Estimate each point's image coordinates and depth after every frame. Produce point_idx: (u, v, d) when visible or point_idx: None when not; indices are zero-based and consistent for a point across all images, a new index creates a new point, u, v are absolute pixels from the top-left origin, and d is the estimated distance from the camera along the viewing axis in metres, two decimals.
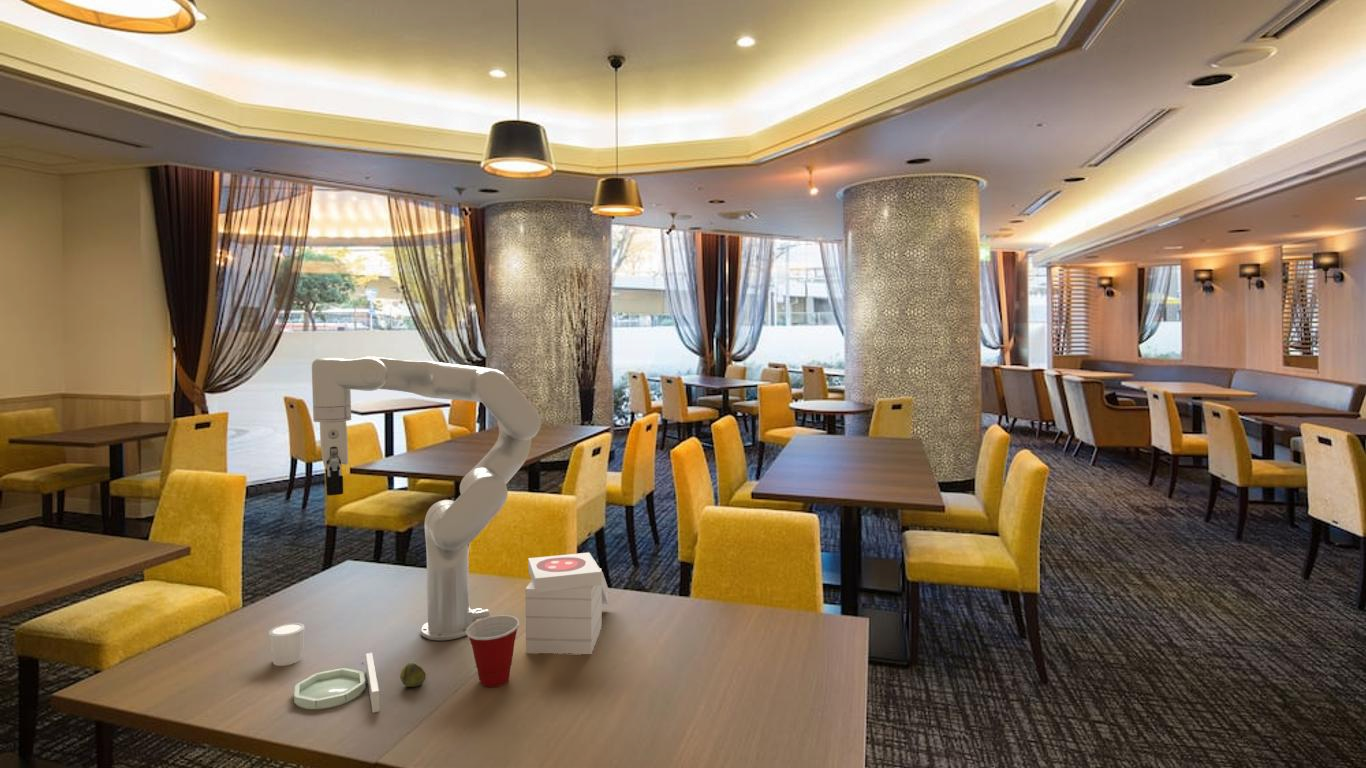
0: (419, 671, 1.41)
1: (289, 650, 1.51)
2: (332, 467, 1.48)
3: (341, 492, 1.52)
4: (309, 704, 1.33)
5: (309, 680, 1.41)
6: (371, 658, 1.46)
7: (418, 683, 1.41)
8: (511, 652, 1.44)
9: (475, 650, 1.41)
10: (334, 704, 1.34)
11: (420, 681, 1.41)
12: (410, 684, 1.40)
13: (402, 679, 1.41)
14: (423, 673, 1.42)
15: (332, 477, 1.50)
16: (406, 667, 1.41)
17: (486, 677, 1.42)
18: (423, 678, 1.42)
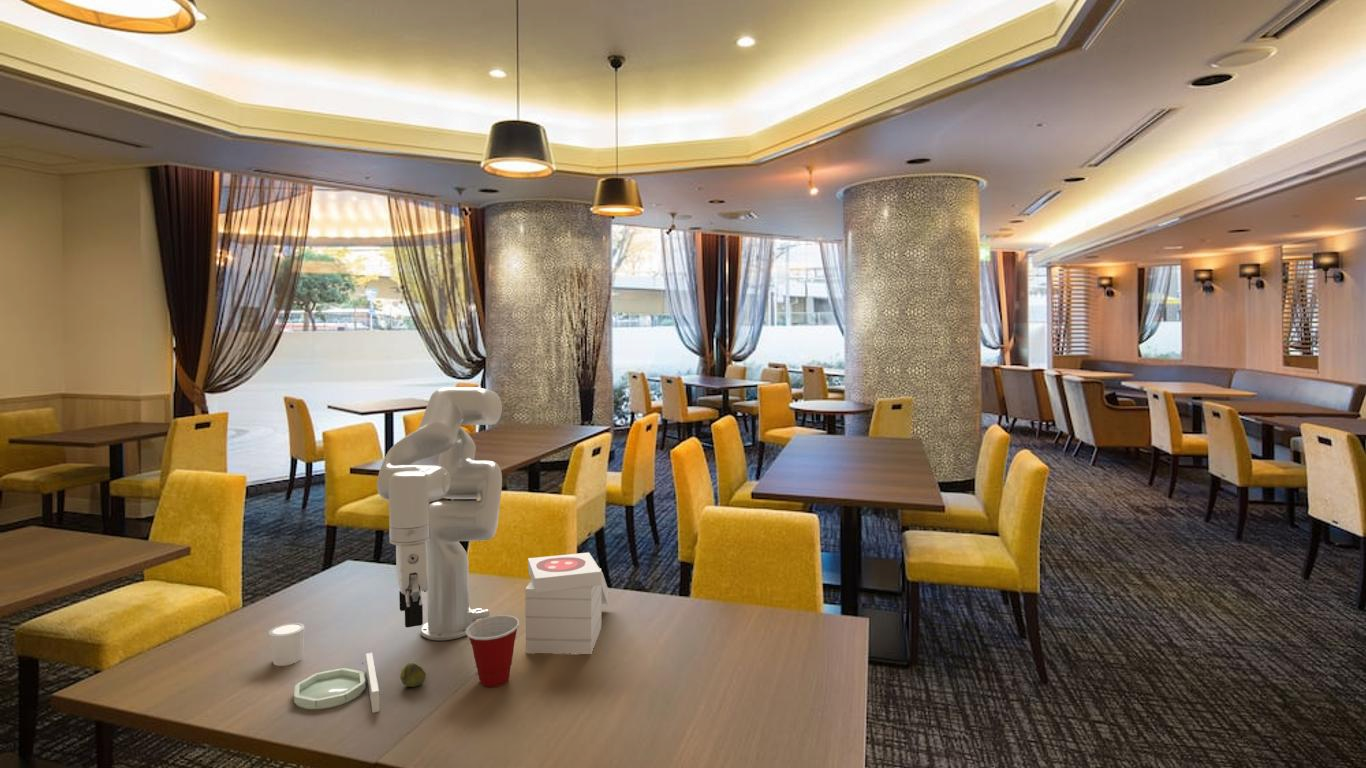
0: (419, 671, 1.41)
1: (289, 650, 1.51)
2: (413, 598, 1.33)
3: (420, 623, 1.37)
4: (309, 704, 1.33)
5: (309, 680, 1.41)
6: (371, 658, 1.46)
7: (418, 683, 1.41)
8: (511, 652, 1.44)
9: (475, 650, 1.41)
10: (334, 704, 1.34)
11: (420, 681, 1.41)
12: (410, 684, 1.40)
13: (402, 679, 1.41)
14: (423, 673, 1.42)
15: (411, 607, 1.35)
16: (406, 667, 1.41)
17: (486, 677, 1.42)
18: (423, 678, 1.42)
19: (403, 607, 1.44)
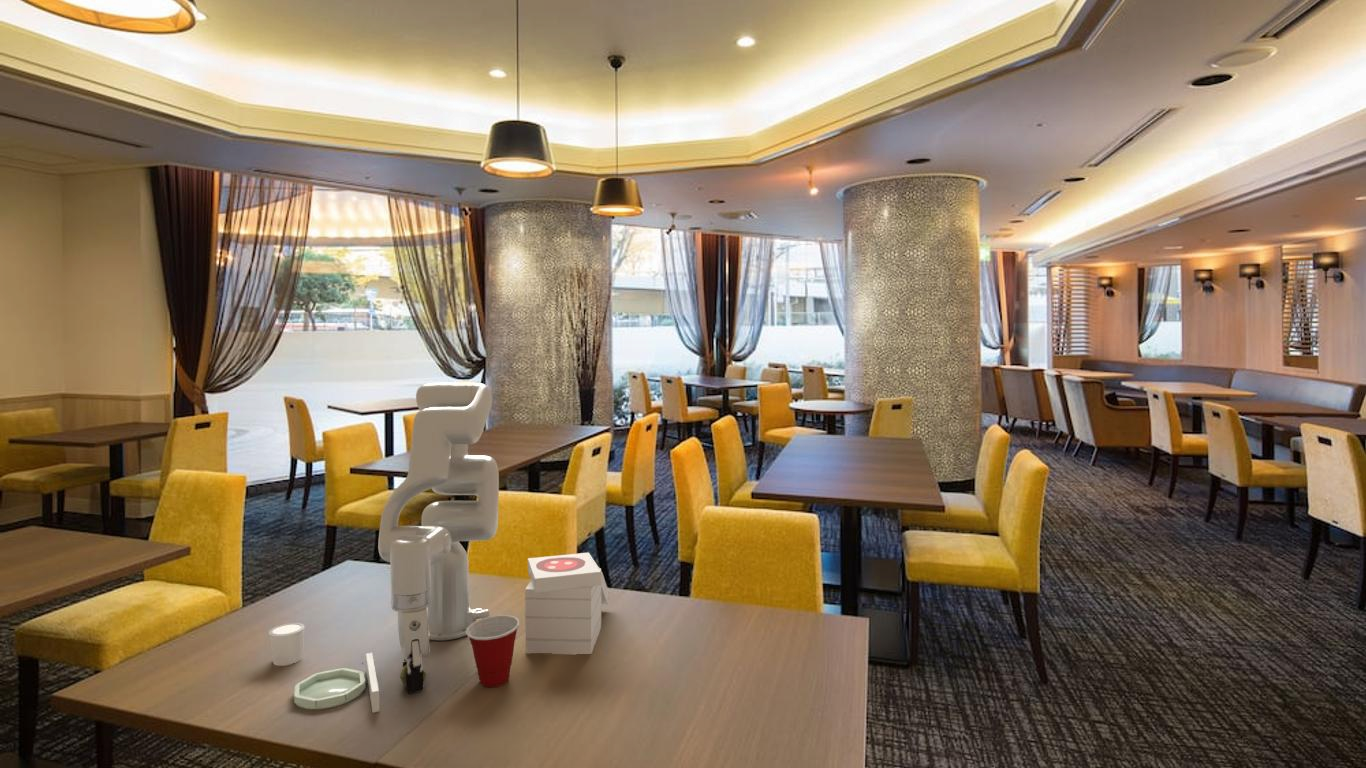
0: None
1: (289, 650, 1.51)
2: (414, 668, 1.37)
3: (421, 688, 1.40)
4: (309, 704, 1.33)
5: (309, 680, 1.41)
6: (371, 658, 1.46)
7: None
8: (511, 652, 1.44)
9: (475, 650, 1.41)
10: (334, 704, 1.34)
11: None
12: None
13: (402, 679, 1.41)
14: (423, 673, 1.42)
15: (412, 674, 1.38)
16: (406, 667, 1.41)
17: (486, 677, 1.42)
18: (423, 678, 1.42)
19: None
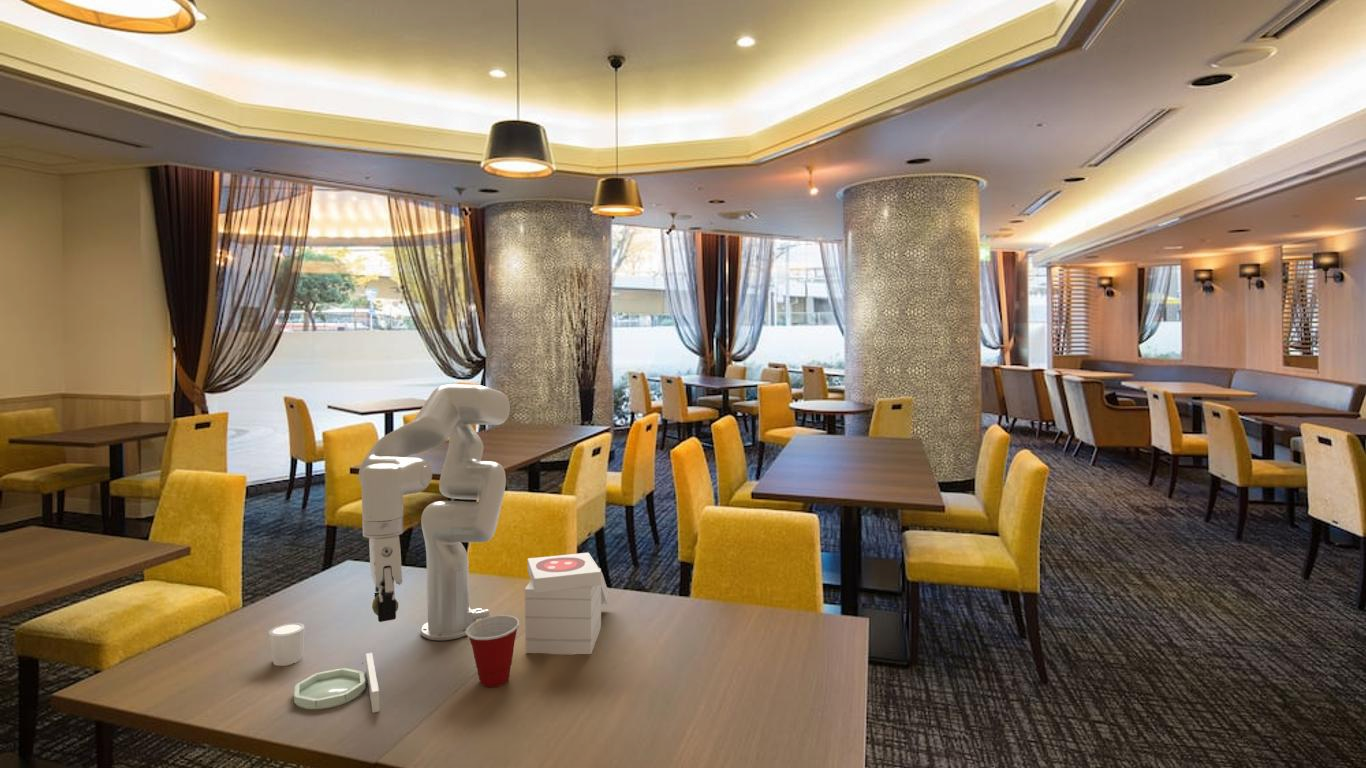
0: None
1: (289, 650, 1.51)
2: (386, 595, 1.35)
3: (394, 617, 1.38)
4: (309, 704, 1.33)
5: (309, 680, 1.41)
6: (371, 658, 1.46)
7: None
8: (511, 652, 1.44)
9: (475, 650, 1.41)
10: (334, 704, 1.34)
11: None
12: None
13: (374, 608, 1.39)
14: (396, 603, 1.40)
15: (385, 602, 1.37)
16: (378, 596, 1.39)
17: (486, 677, 1.42)
18: None
19: None
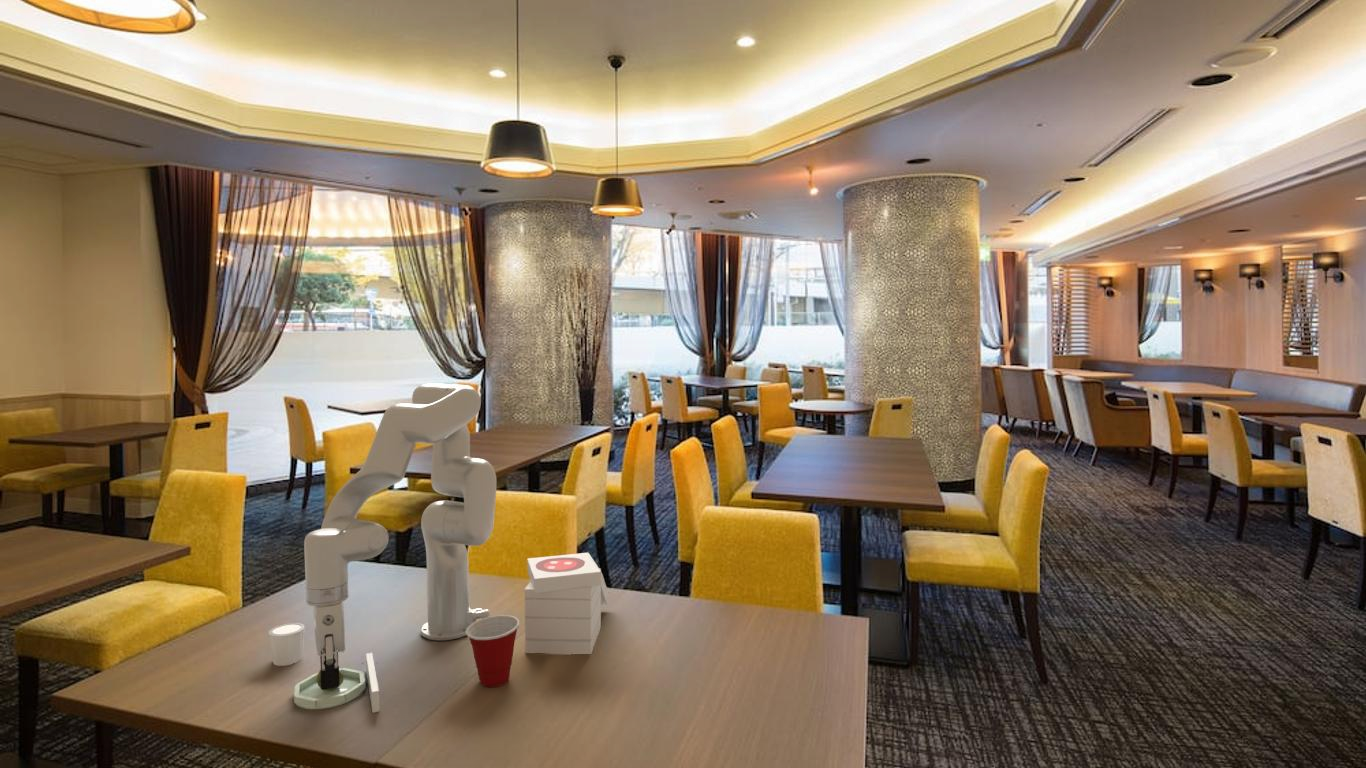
0: None
1: (289, 650, 1.51)
2: (327, 663, 1.33)
3: (337, 685, 1.37)
4: (309, 704, 1.33)
5: (309, 680, 1.41)
6: (371, 658, 1.46)
7: None
8: (511, 652, 1.44)
9: (475, 650, 1.41)
10: (334, 704, 1.34)
11: None
12: None
13: (318, 682, 1.38)
14: (340, 676, 1.39)
15: (327, 670, 1.35)
16: None
17: (486, 677, 1.42)
18: (340, 680, 1.39)
19: None
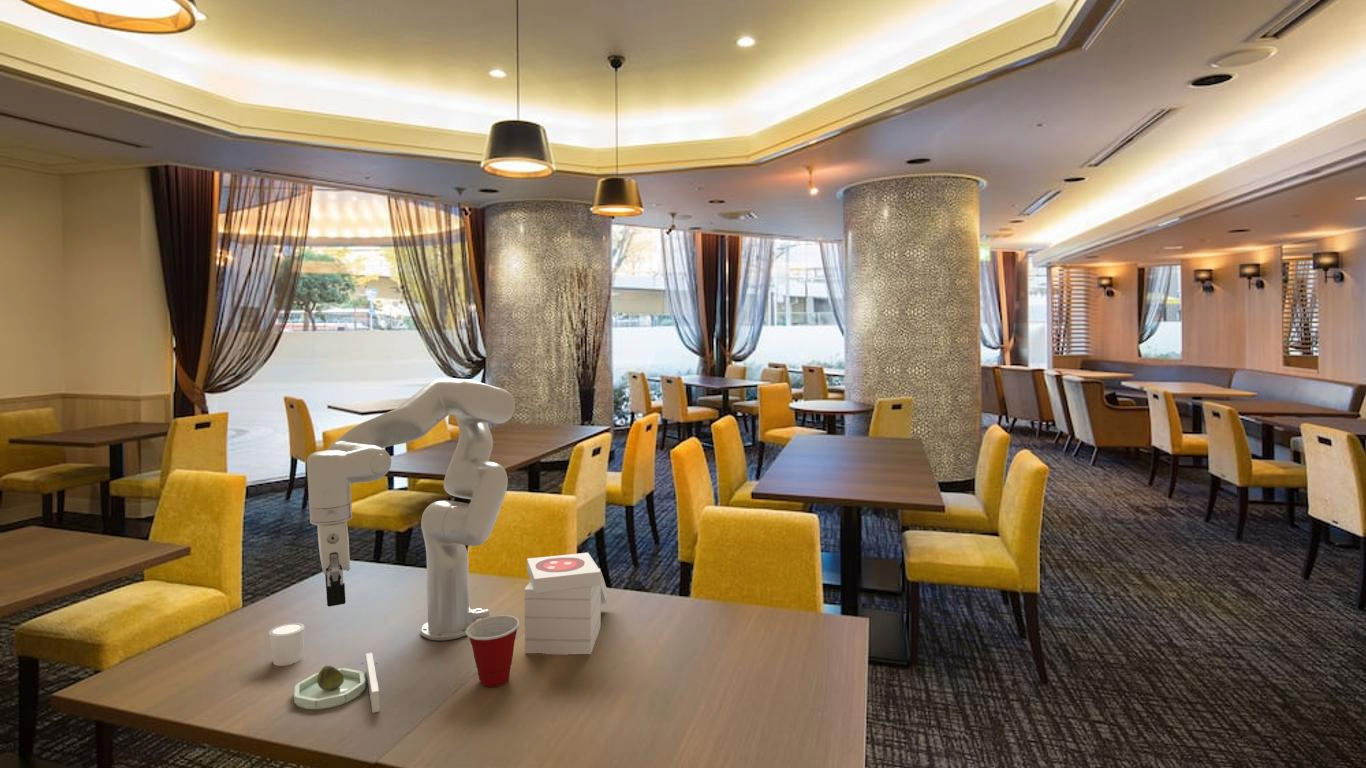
0: (337, 674, 1.38)
1: (289, 650, 1.51)
2: (332, 577, 1.33)
3: (343, 602, 1.37)
4: (309, 704, 1.33)
5: (309, 680, 1.41)
6: (371, 658, 1.46)
7: (335, 686, 1.38)
8: (511, 652, 1.44)
9: (475, 650, 1.41)
10: (334, 704, 1.34)
11: (337, 684, 1.39)
12: (326, 687, 1.38)
13: (318, 682, 1.38)
14: (341, 676, 1.39)
15: (333, 587, 1.35)
16: (323, 670, 1.38)
17: (486, 677, 1.42)
18: (341, 681, 1.39)
19: None
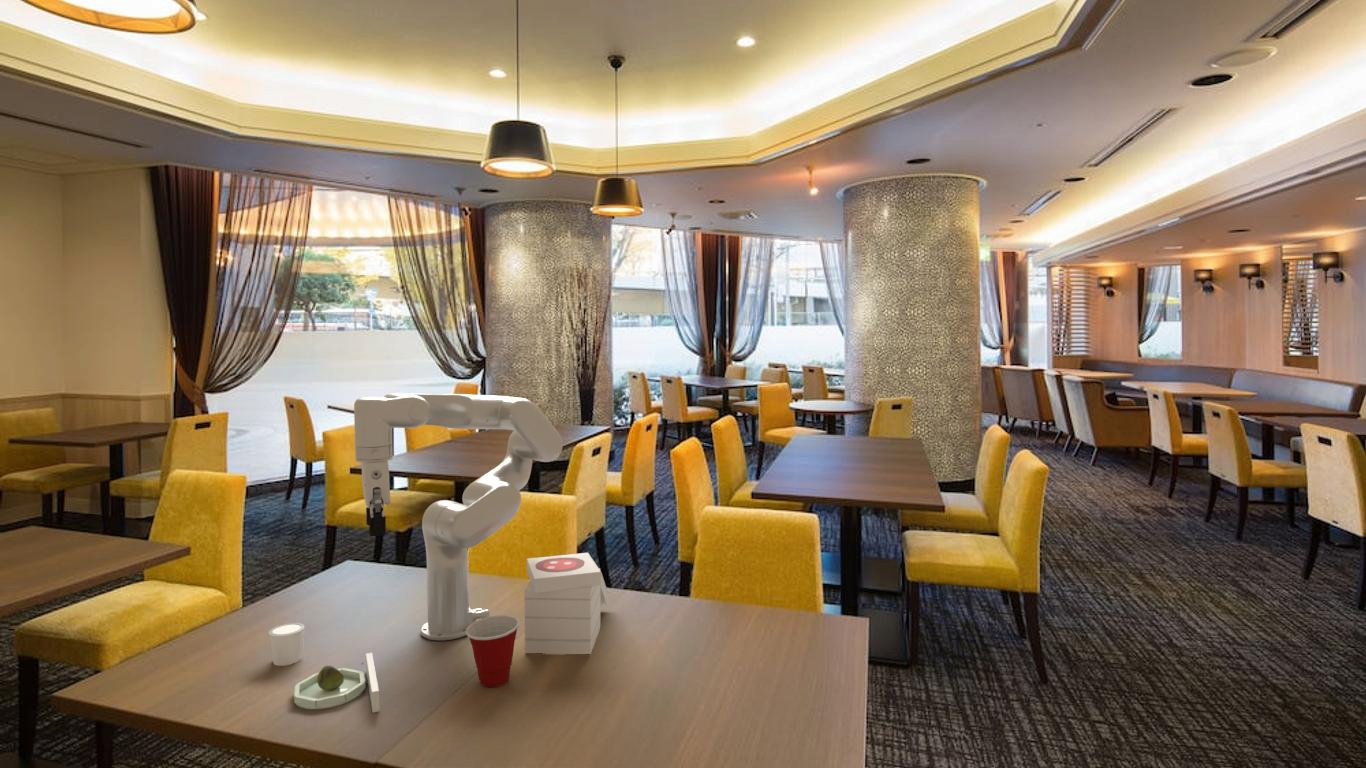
0: (337, 674, 1.38)
1: (289, 650, 1.51)
2: (376, 508, 1.47)
3: (384, 533, 1.51)
4: (309, 704, 1.33)
5: (309, 680, 1.41)
6: (371, 658, 1.46)
7: (335, 686, 1.38)
8: (511, 652, 1.44)
9: (475, 650, 1.41)
10: (334, 704, 1.34)
11: (337, 684, 1.39)
12: (326, 687, 1.38)
13: (318, 682, 1.38)
14: (341, 676, 1.39)
15: (375, 518, 1.49)
16: (323, 670, 1.38)
17: (486, 677, 1.42)
18: (341, 681, 1.39)
19: None
